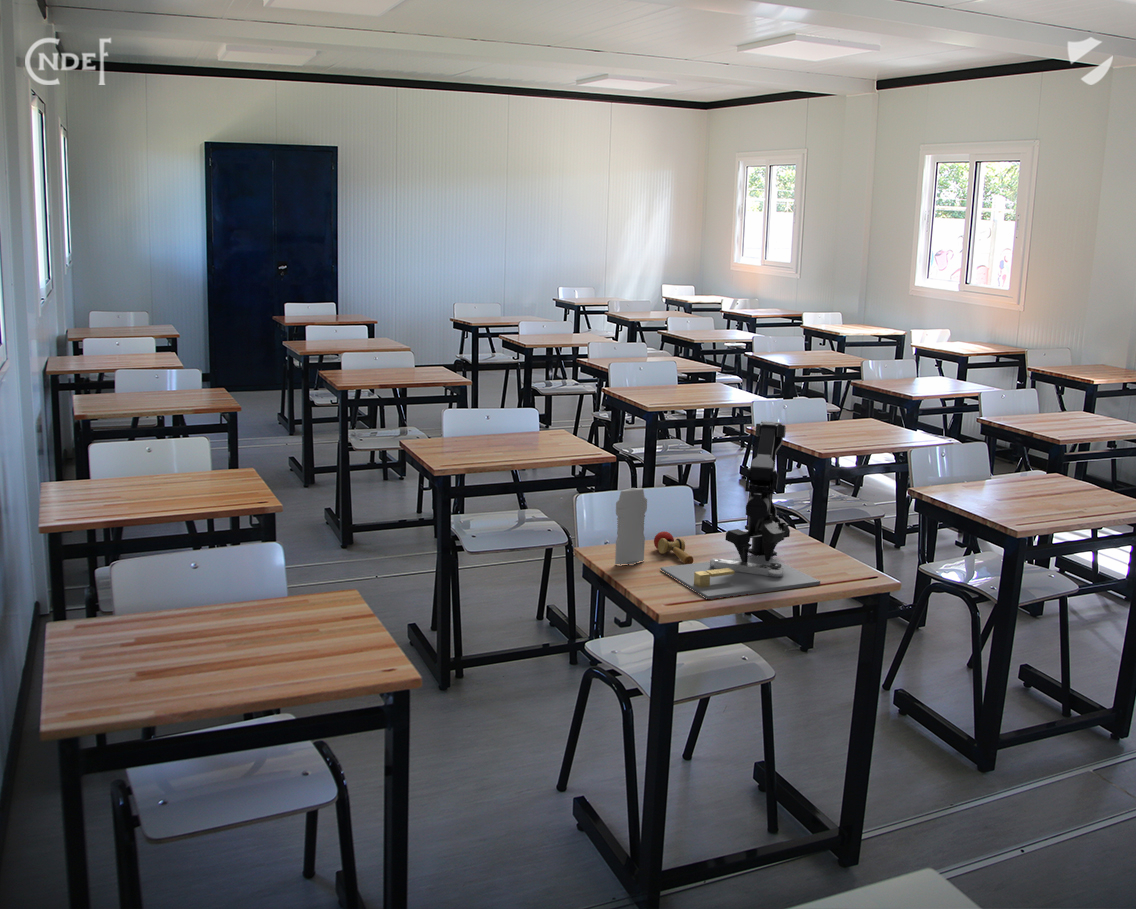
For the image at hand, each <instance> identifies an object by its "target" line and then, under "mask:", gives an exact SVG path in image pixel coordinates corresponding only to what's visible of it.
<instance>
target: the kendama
mask: <svg viewBox="0 0 1136 909" xmlns="http://www.w3.org/2000/svg"><path fill="white" fill-rule="evenodd" d="M653 544H654V547H655V548H656V550H658V552H659V553H660V554H662V555H663V554H666V553H667V552H673V553H674V554H675V555H676V557H677V558H678V559H679V560H680V561H681V562H682V563H683V565H685V564H694V557H693V556H692V555H690V554H688V553H687V552H685V550H686V543H685V540H684V539H683V538H676V539H675V538H674V536H673V535H672V534H671V532H668V531H660V532H658V533H657V534H655V536H654V538H653Z"/></svg>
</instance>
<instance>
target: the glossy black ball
mask: <svg viewBox="0 0 1136 909" xmlns="http://www.w3.org/2000/svg"><path fill="white" fill-rule="evenodd" d="M769 566H770V567H772V568H775V569H777V568H781V566H782V565H781V564H778V563H770V565H769Z"/></svg>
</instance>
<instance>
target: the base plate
mask: <svg viewBox="0 0 1136 909" xmlns="http://www.w3.org/2000/svg"><path fill="white" fill-rule="evenodd" d="M727 560H732V561H739V562H742V560H741V558H740V557H737V558H729V559H727ZM747 563H754V564H761V565H770V563H778V564H781V565H782V566H781V567H783V568H784V571H783V577H780V578H774V577H769V576H765V575H758V574H751V573H744V572H737V571H735V574H731V575H723V576H715V577H711V576H710V586H708V587H698V586H696V585H695V584H694V572H699V571H705V572H706V571H707V570H715V568H711V567H710V561H704V562H696V563H695V562H693V563H692V564H680V565H679V564H678V565H677V564H676V565H669V566H663V567H662V566H661V567H660V569H661V570H662V571H664V572H665V573H667V574H669V575H670V576H672V577H673V578H675V579H677V580H678V581H680V582H681V583H683V584H684V585H686V586H688V587H689V588H691V589H693V590H694V591H696V592H697V593H699V594H701V595H702V596H704V597H705V598H707V599H711V600H715V599H714V598H719V599H723V598H722V597H726V598H731V597H730V596H733V597H738V596H737V595H741V596H747V595H746V594H748V595H755V594H761V593H770V592H775V591H782V590H783V591H784V590H791V589H799V588H805V587H814V586H820V585H821V580H819V579H817V578H815V577H813V576H811V575H809V574H806V573H804V572H803V571H800V570H798V569H796V568H794V567H792V566H790V565H789V564H786V563H784V562H782V561H780V560H778V559H775V558H774V557H772V556H771V558H770V560H769V561H766V560H765V555H762V556H757V555H754V556H748V561H747ZM665 573H664V574H665ZM670 576H669V577H670ZM673 578H672V579H673ZM678 581H677V582H678ZM681 583H680V584H681ZM683 584H682V585H683ZM819 584H820V585H819ZM684 585H683V586H684ZM686 586H685V587H686ZM689 588H688V589H689ZM691 589H690V590H691ZM694 591H693V592H694ZM697 593H696V594H697ZM699 594H698V595H699ZM702 596H701V597H702ZM704 597H703V598H704ZM720 597H721V598H720ZM705 598H704V599H705ZM707 599H706V600H707Z"/></svg>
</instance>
